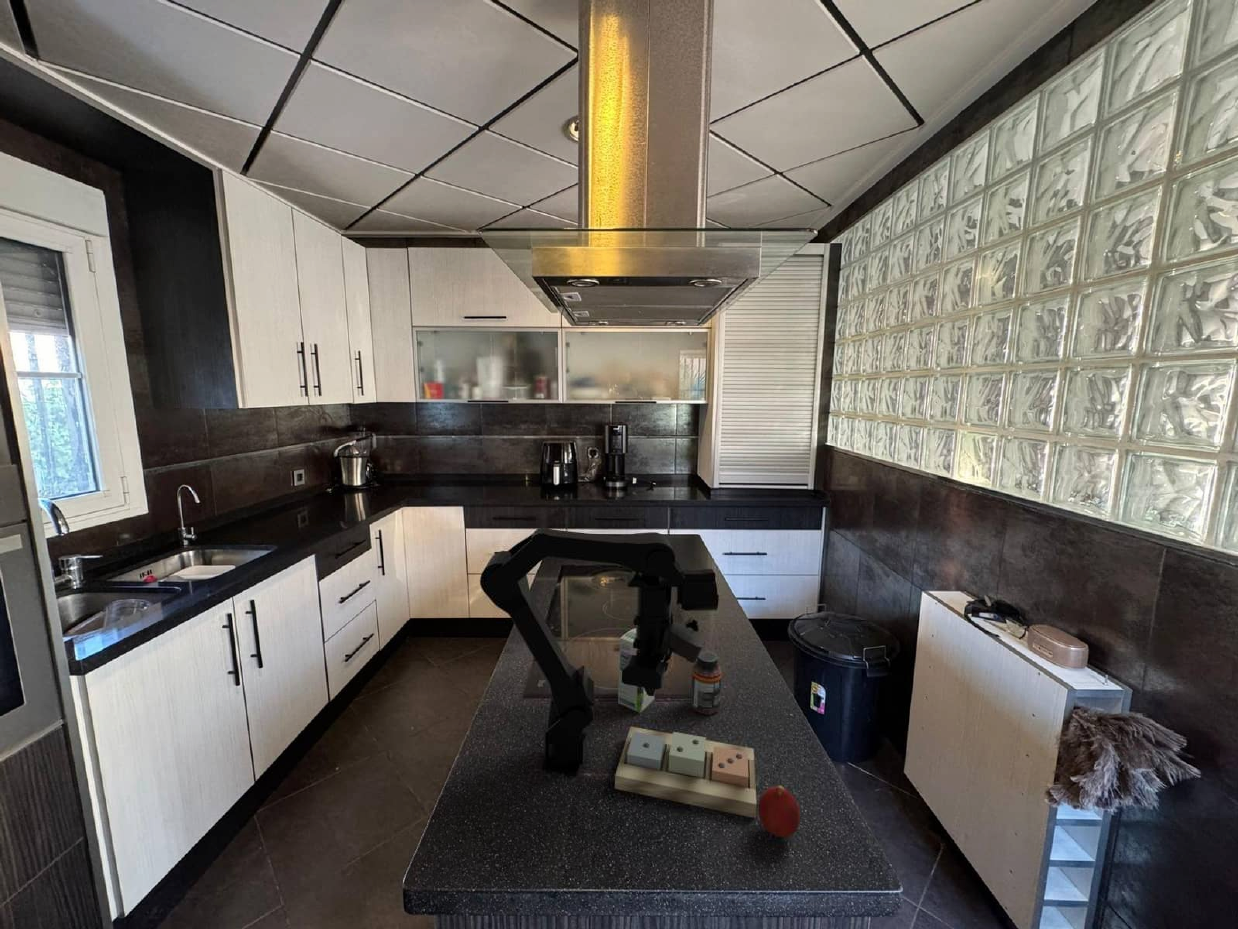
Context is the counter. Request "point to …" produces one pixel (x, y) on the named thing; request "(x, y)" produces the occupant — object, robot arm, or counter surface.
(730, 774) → the tile three pip
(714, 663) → the supplement bottle
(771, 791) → the onion
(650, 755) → the single dot cube
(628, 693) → the syrup box
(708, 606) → the robot arm
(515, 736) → the counter surface
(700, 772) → the tile two pip
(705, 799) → the tile tray
